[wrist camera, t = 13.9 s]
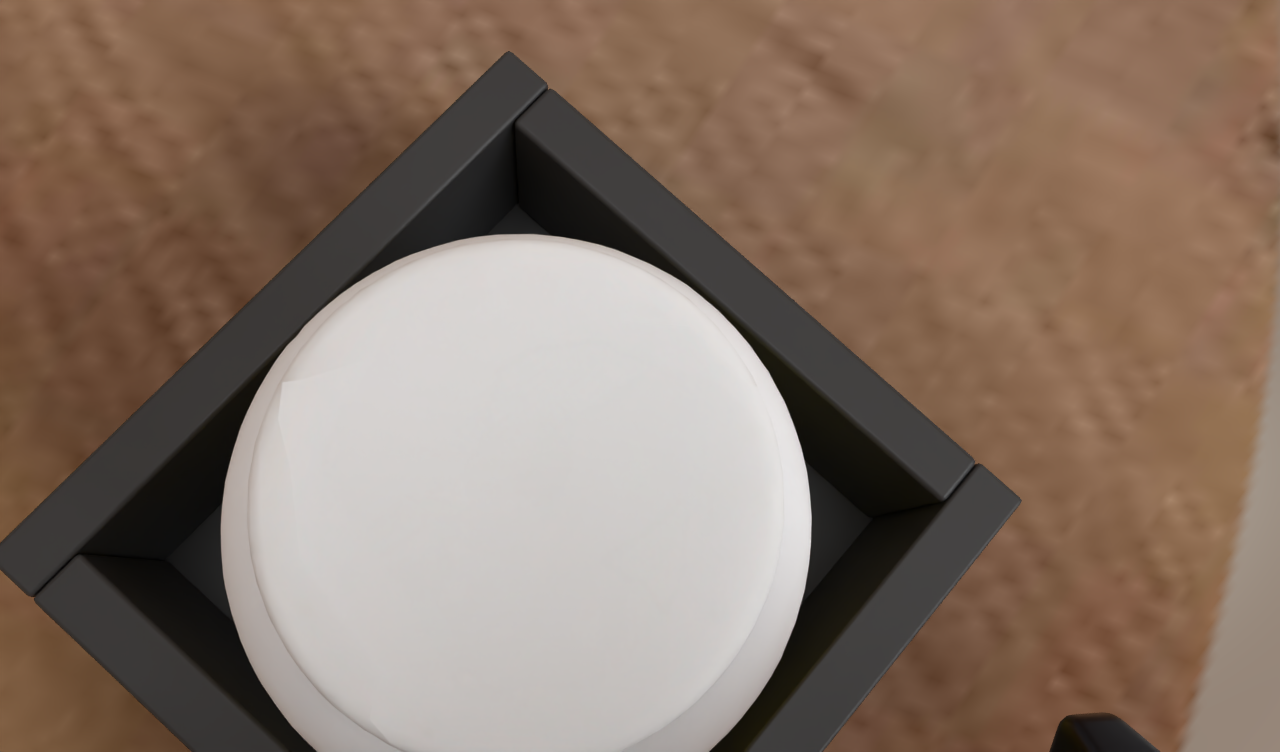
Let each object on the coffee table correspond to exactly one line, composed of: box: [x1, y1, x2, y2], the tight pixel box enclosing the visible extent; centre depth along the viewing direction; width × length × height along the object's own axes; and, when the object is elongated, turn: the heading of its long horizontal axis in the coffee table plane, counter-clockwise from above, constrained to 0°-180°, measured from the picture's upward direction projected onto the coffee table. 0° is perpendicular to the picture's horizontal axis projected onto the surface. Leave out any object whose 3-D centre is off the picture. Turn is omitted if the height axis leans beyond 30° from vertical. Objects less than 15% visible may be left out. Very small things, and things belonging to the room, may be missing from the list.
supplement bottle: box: [221, 234, 812, 752], centre depth 13 cm, size 6×6×10 cm
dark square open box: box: [0, 51, 1022, 752], centre depth 17 cm, size 10×10×4 cm
